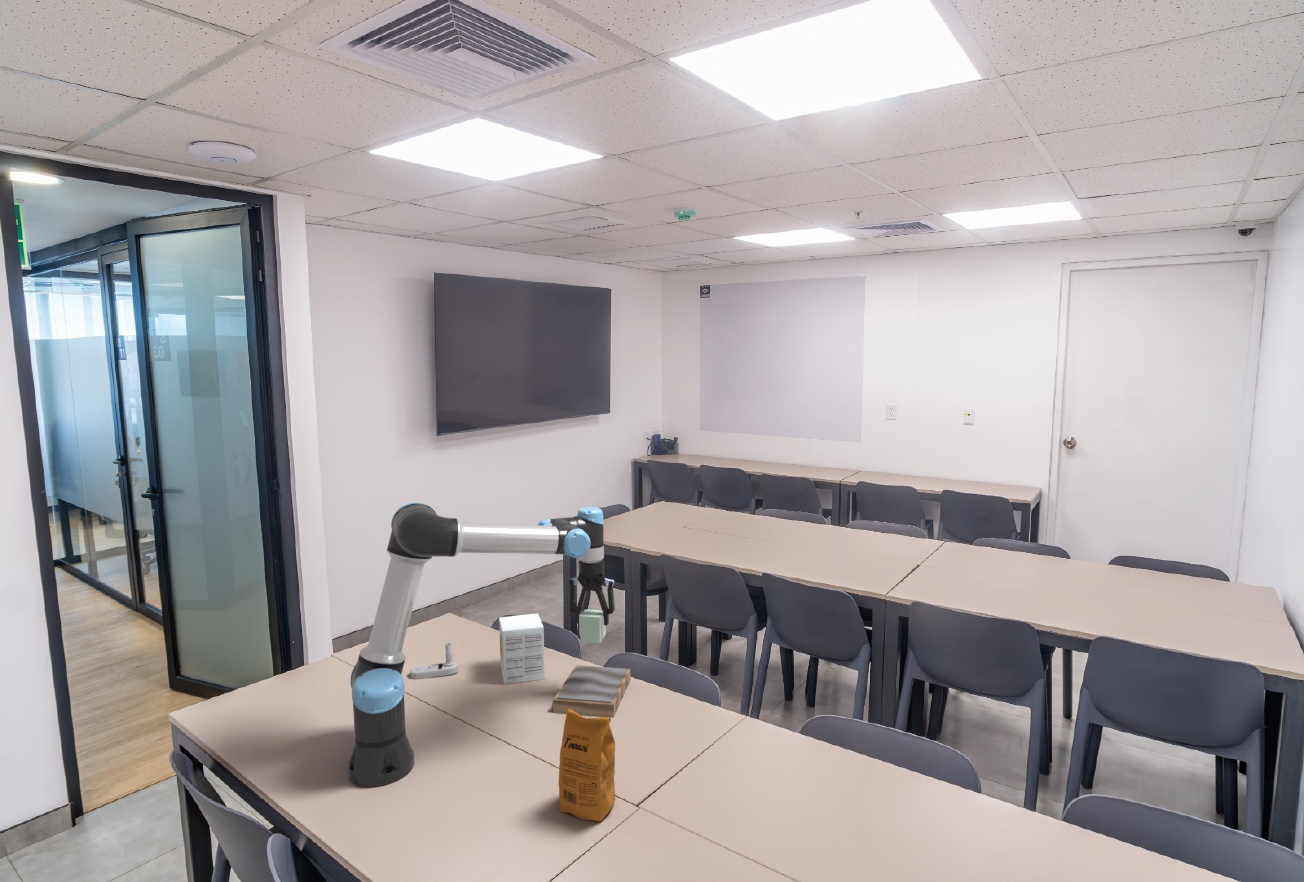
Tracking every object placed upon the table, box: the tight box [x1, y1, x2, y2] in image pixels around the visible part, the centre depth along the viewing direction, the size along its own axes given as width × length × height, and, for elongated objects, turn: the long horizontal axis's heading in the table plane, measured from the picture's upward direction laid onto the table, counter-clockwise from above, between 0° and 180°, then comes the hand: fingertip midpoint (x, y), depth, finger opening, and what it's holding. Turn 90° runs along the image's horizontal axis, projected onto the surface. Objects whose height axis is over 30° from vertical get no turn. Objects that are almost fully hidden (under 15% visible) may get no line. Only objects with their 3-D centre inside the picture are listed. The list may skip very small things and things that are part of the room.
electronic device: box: [409, 642, 460, 680], centre depth 220 cm, size 5×10×15 cm
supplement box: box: [498, 613, 545, 685], centre depth 220 cm, size 13×13×18 cm
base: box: [552, 664, 632, 718], centre depth 205 cm, size 24×18×4 cm
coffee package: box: [558, 709, 616, 822], centre depth 151 cm, size 10×12×22 cm
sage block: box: [579, 609, 605, 644], centre depth 203 cm, size 6×6×8 cm
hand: (592, 634), depth 203 cm, fingers closed on sage block, 6 cm apart
